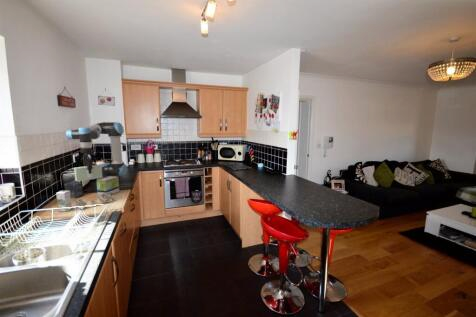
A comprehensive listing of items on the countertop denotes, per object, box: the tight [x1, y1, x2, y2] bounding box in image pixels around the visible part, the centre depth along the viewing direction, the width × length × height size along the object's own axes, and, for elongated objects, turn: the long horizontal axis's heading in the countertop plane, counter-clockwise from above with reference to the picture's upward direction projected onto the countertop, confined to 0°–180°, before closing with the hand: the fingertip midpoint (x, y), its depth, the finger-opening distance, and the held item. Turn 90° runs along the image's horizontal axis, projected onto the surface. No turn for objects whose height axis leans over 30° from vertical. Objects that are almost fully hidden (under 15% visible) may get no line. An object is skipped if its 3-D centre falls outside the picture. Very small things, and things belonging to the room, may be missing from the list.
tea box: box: [96, 176, 120, 197], centre depth 194 cm, size 15×10×15 cm, turn 168°
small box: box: [63, 181, 84, 199], centre depth 186 cm, size 13×7×12 cm, turn 72°
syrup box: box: [55, 190, 73, 213], centre depth 155 cm, size 6×6×14 cm
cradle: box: [74, 193, 113, 211], centre depth 168 cm, size 22×12×6 cm, turn 142°
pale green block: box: [73, 164, 102, 183], centre depth 168 cm, size 17×5×10 cm, turn 141°
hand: (89, 176), depth 168 cm, fingers closed on pale green block, 5 cm apart
